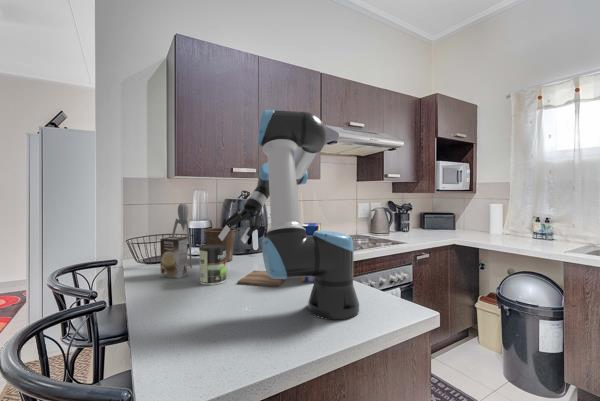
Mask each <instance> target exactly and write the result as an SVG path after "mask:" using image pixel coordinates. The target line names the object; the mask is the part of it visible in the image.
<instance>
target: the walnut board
mask: <svg viewBox="0 0 600 401" xmlns="http://www.w3.org/2000/svg"><path fill="white" fill-rule="evenodd" d="M285 280H286V279H272V278H270V277H269V276H268V274H267V272H266V270H265V271H264V270H252V271H251V272H250V273H248V274H246V275H245V276H243V277H242V278H240V279H239V280H238V281H237V285H247V286H248V285H249V286H260V287H272V288H278V287H279V286H280V285H281V284H282V283H283V282H284V281H285Z"/></svg>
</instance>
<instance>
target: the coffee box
mask: <svg viewBox="0 0 600 401" xmlns="http://www.w3.org/2000/svg"><path fill="white" fill-rule="evenodd" d="M159 240H160V243H159V244H160V277H161V278H169V279H181V278H184V277H186V276H188V237H180V236H174V237H172V236H168V237H163V238H160V239H159Z"/></svg>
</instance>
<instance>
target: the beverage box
mask: <svg viewBox="0 0 600 401" xmlns="http://www.w3.org/2000/svg"><path fill="white" fill-rule="evenodd" d="M301 226H302V227H304V228H305V229H306V236H314V235H313V234H314V232H315V231H322V224H321V222H304V223H302V224H301ZM300 279H301V280H300V281H305V282H304V283H314V277H301V278H300Z"/></svg>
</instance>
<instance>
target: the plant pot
mask: <svg viewBox="0 0 600 401" xmlns="http://www.w3.org/2000/svg"><path fill="white" fill-rule="evenodd" d="M223 228H224V227H212V228H210V227H209V228H204V229H203V232H204V237H205V242H206V243H205V245H207V244H224V245H226V263H228V262H231V261H233V254H234V243H235V237H236V233H237V232H236V231H237V228H234V227H230V231H229V232H228V234H227V235H226V236H225V238H224V239H223V241H221V240H220V238H219V237H218V236H219V235H220V233H221V232H222V230H223Z"/></svg>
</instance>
